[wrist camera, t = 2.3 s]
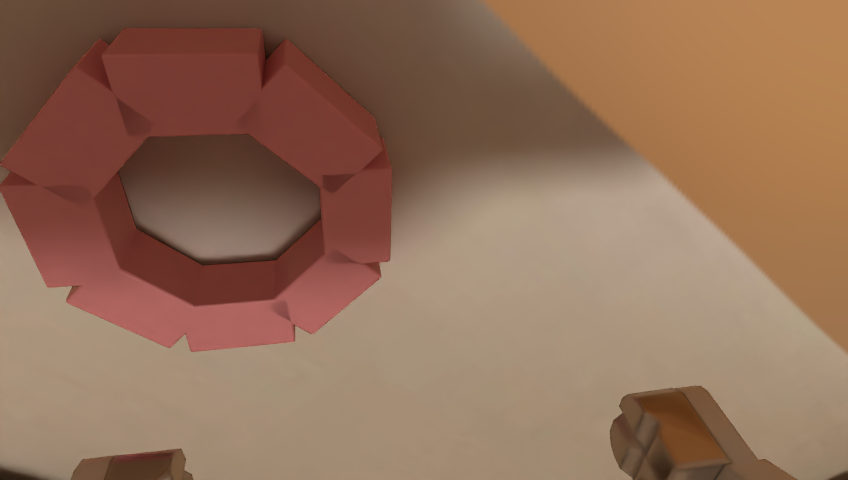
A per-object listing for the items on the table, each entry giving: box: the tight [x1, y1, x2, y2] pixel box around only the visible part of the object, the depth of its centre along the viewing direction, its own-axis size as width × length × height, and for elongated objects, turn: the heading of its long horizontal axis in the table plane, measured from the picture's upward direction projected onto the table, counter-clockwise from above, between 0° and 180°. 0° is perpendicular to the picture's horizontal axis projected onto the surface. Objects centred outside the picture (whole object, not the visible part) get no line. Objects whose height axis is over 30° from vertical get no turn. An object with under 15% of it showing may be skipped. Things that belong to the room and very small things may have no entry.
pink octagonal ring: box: [0, 28, 392, 352], centre depth 16 cm, size 10×10×2 cm
